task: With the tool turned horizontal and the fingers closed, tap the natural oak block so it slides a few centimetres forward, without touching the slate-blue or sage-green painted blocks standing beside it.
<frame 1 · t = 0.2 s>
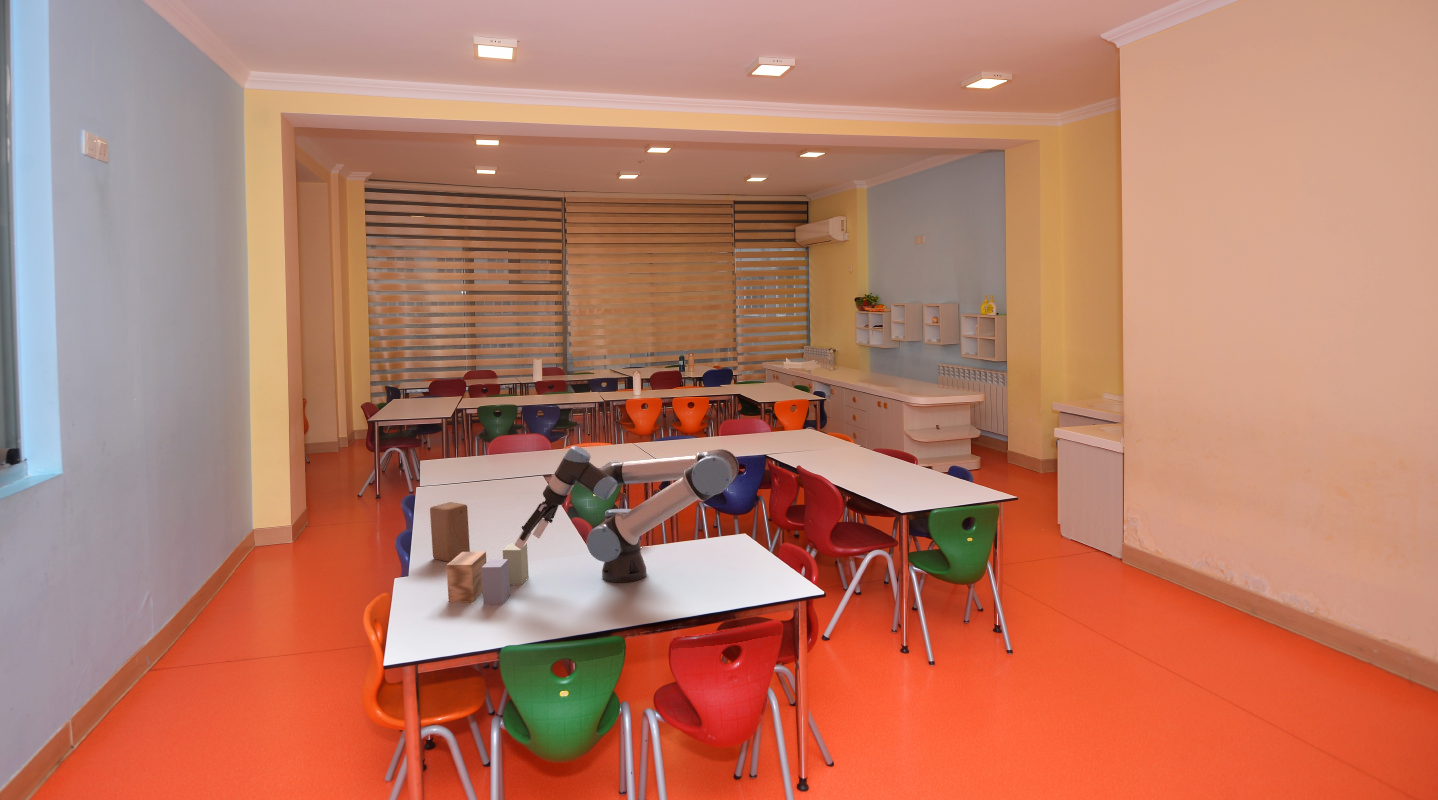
hand: (527, 541, 259), 15 cm above the table, tool tilted 35°, fingers open, 13 cm apart
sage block: (516, 581, 266), on the table
puzzle cube: (625, 543, 308), on the table
oak block: (468, 594, 254), on the table
wooden block: (451, 557, 295), on the table
slate-blue block: (497, 600, 248), on the table
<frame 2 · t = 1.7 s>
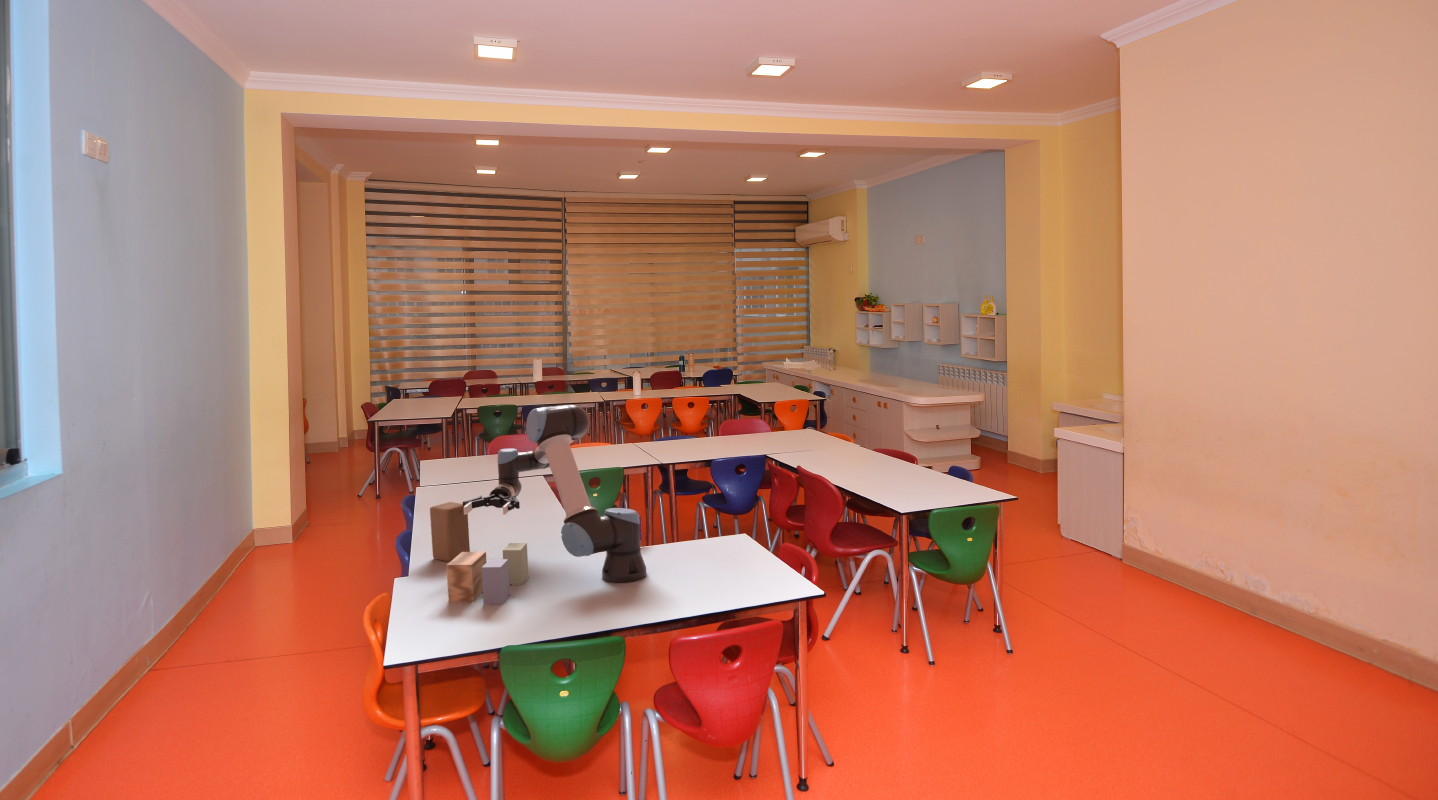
hand: (484, 510, 270), 23 cm above the table, tool horizontal, fingers open, 13 cm apart
nothing on the table moved.
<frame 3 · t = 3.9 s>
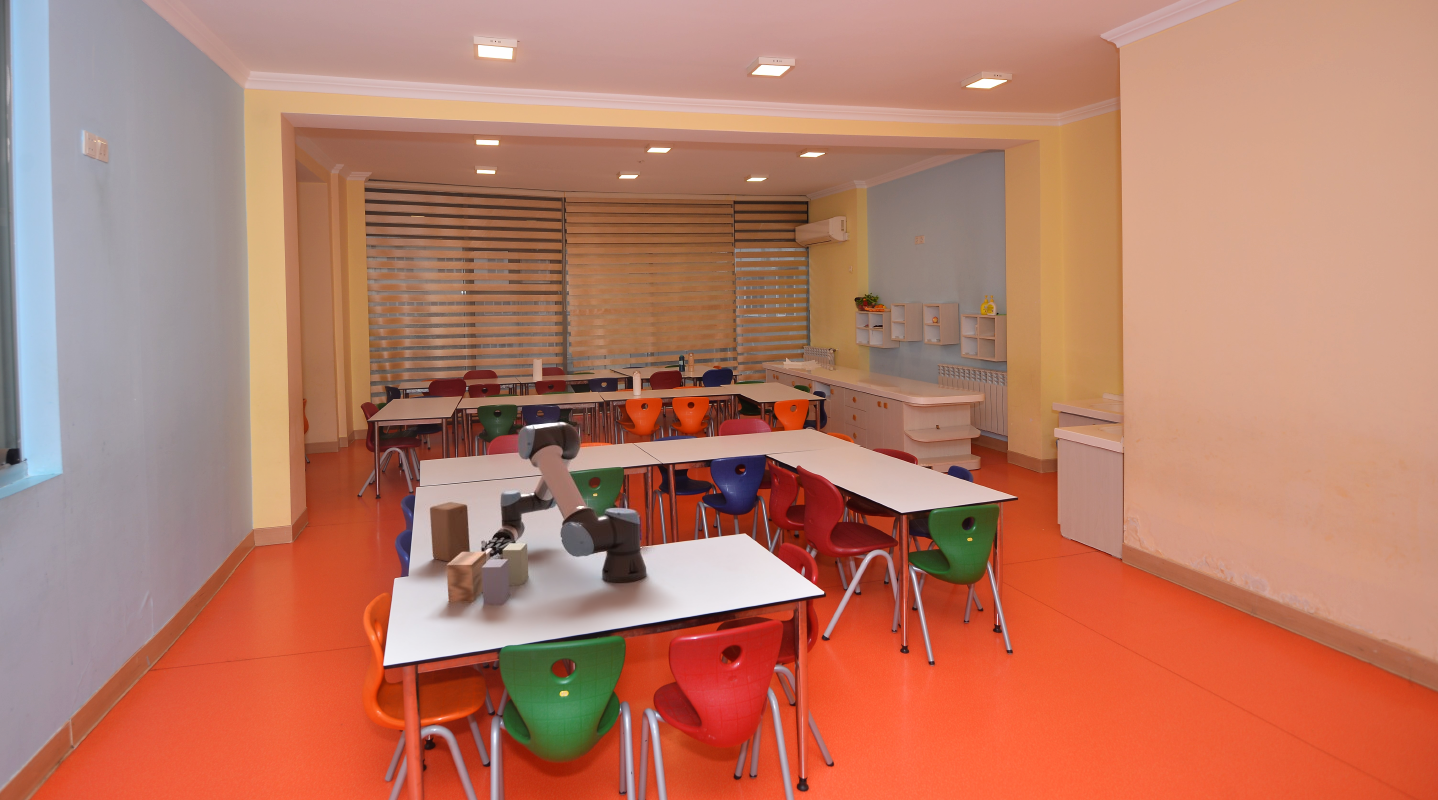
hand: (484, 557, 271), 7 cm above the table, tool horizontal, fingers closed
nothing on the table moved.
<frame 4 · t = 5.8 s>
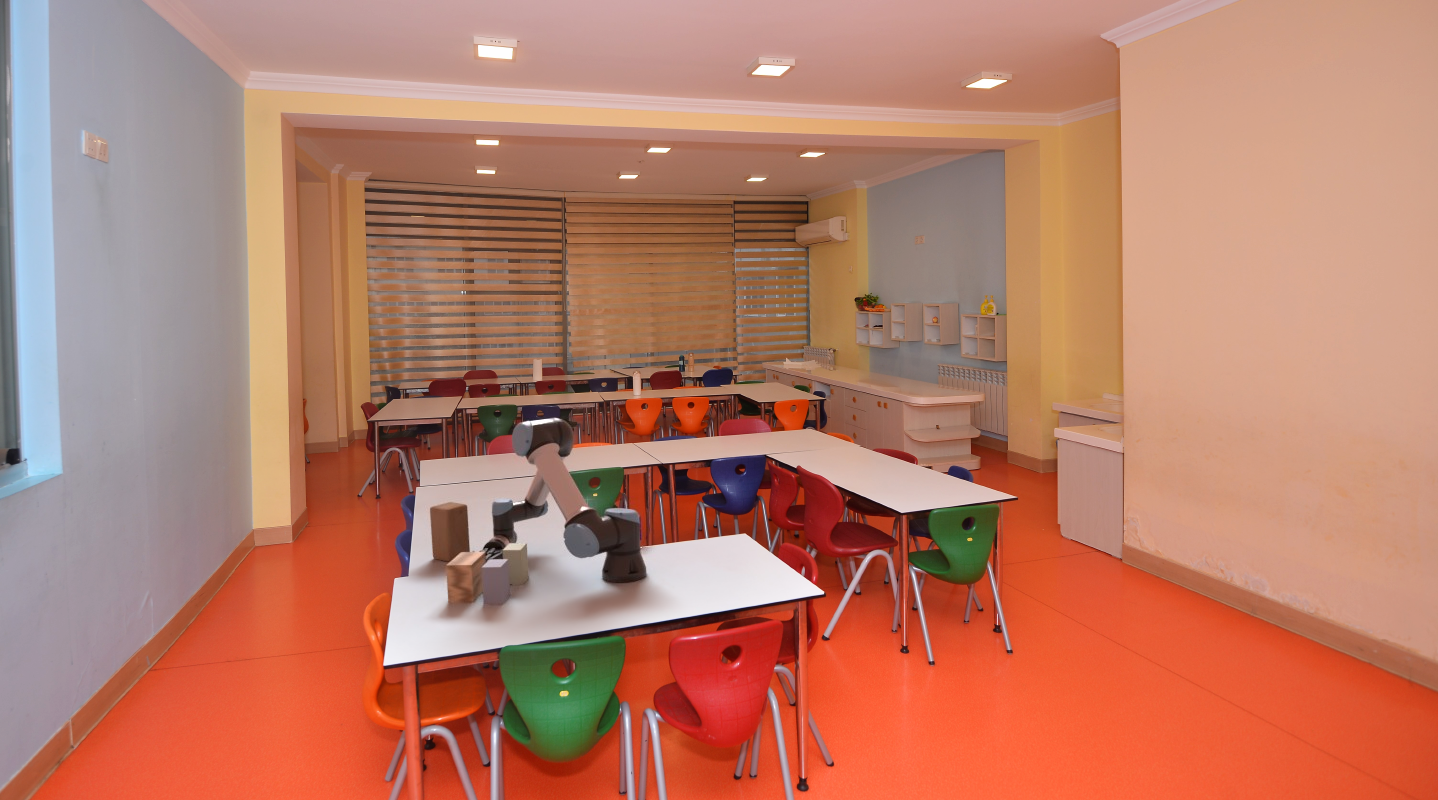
hand: (473, 569, 260), 6 cm above the table, tool horizontal, fingers closed
oak block: (468, 594, 254), on the table, touching gripper
everything else where it was.
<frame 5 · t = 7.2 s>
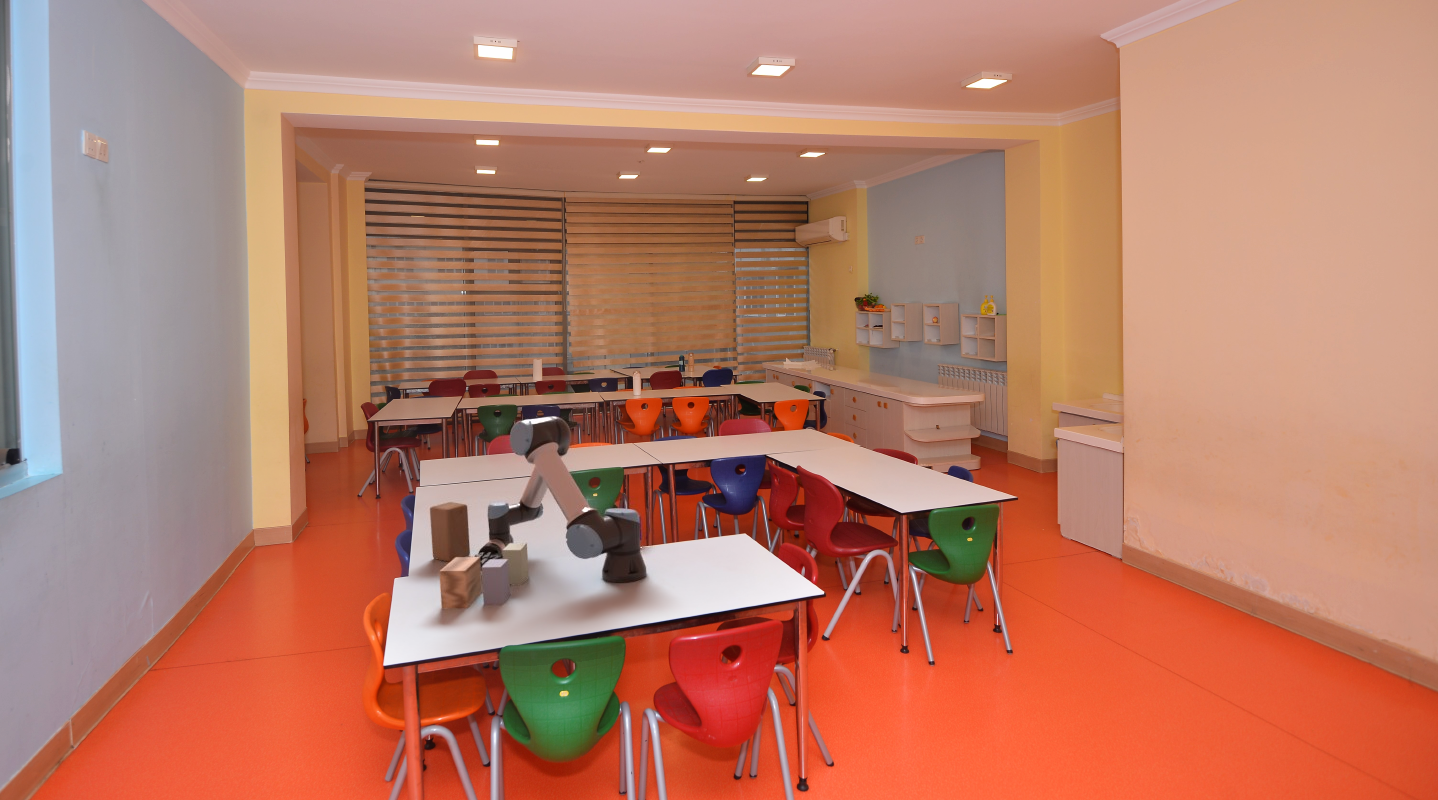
hand: (469, 574, 255), 6 cm above the table, tool horizontal, fingers closed
oak block: (462, 600, 248), on the table
everything else where it was.
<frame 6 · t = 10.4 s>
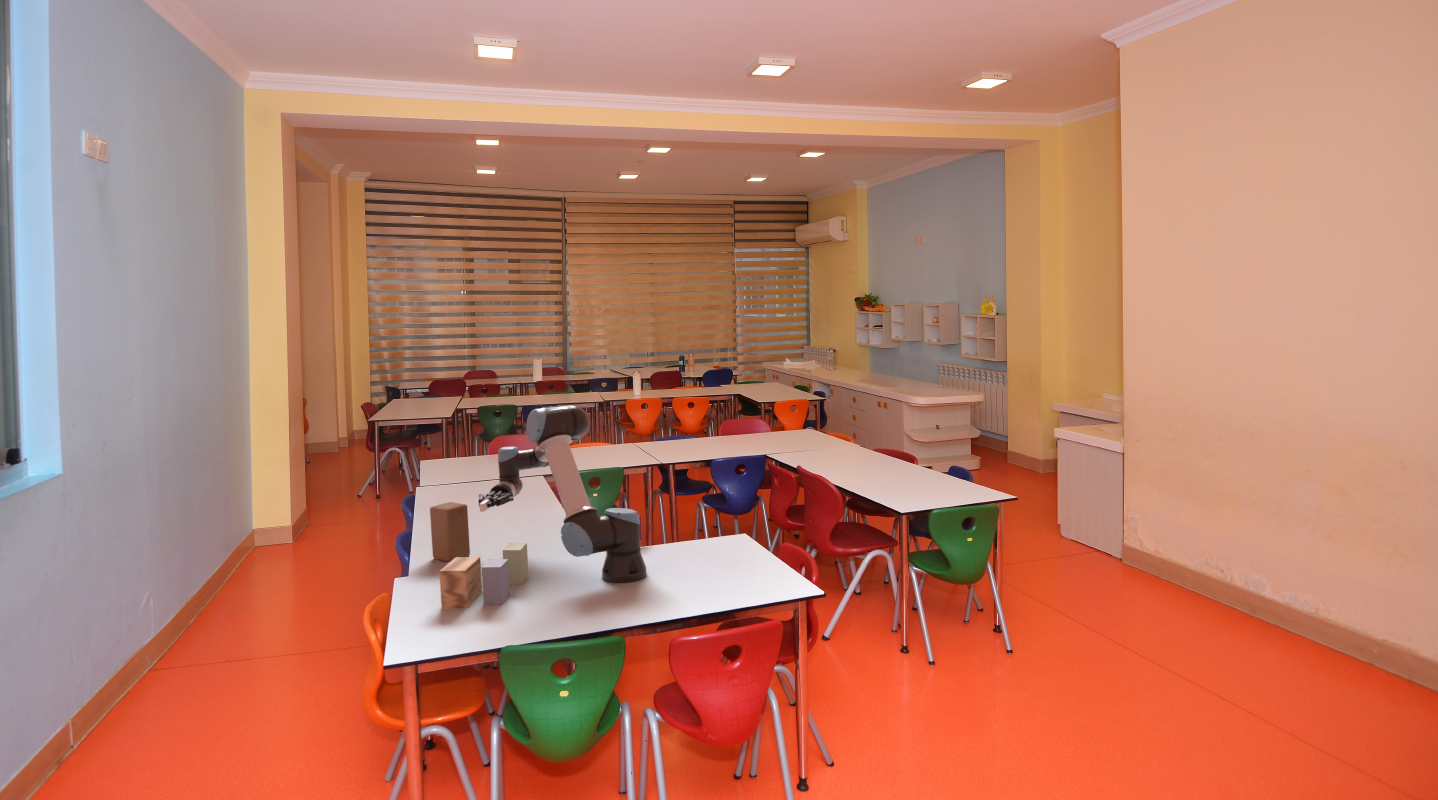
hand: (481, 507, 269), 24 cm above the table, tool horizontal, fingers closed
nothing on the table moved.
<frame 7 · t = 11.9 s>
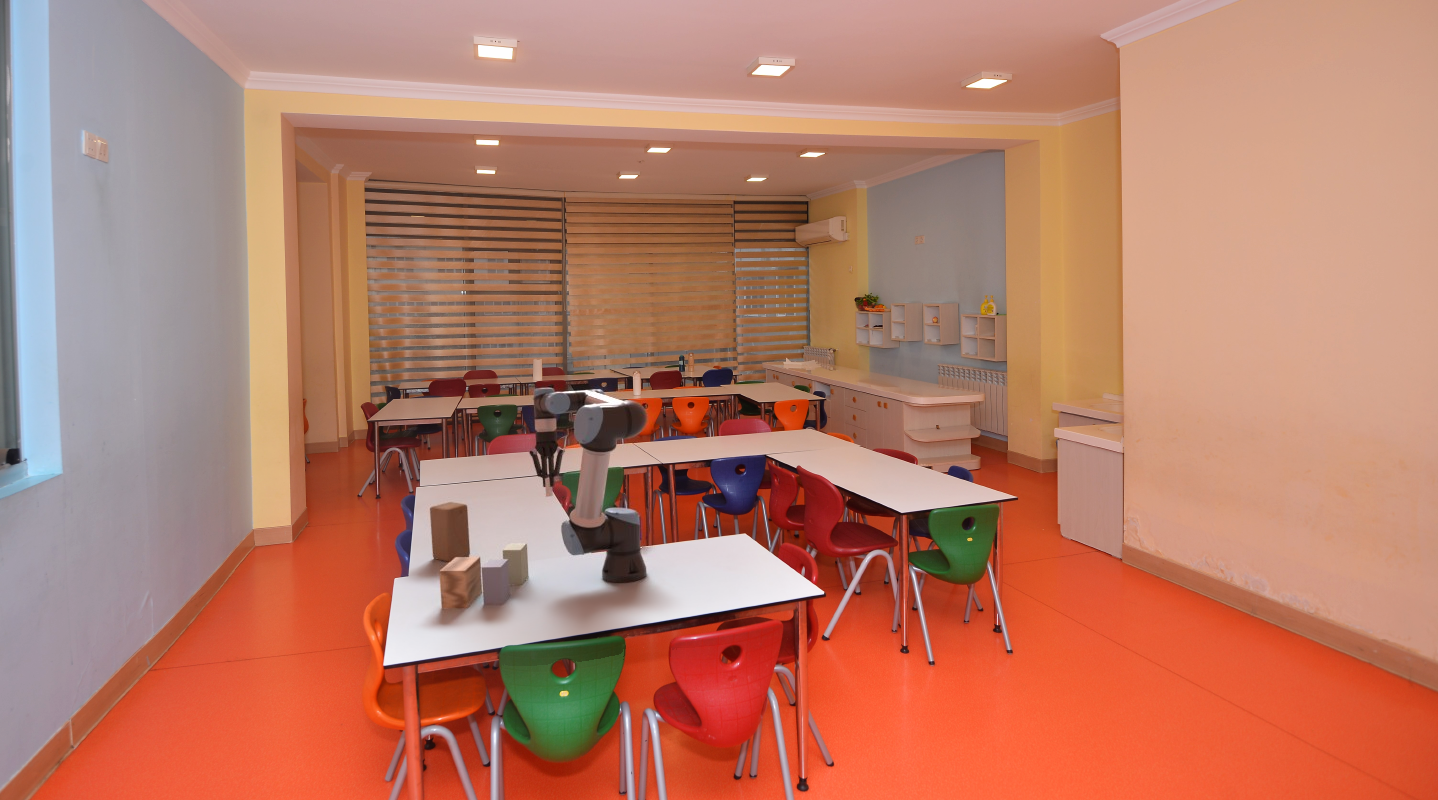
hand: (549, 496, 283), 25 cm above the table, tool pointing down, fingers closed
nothing on the table moved.
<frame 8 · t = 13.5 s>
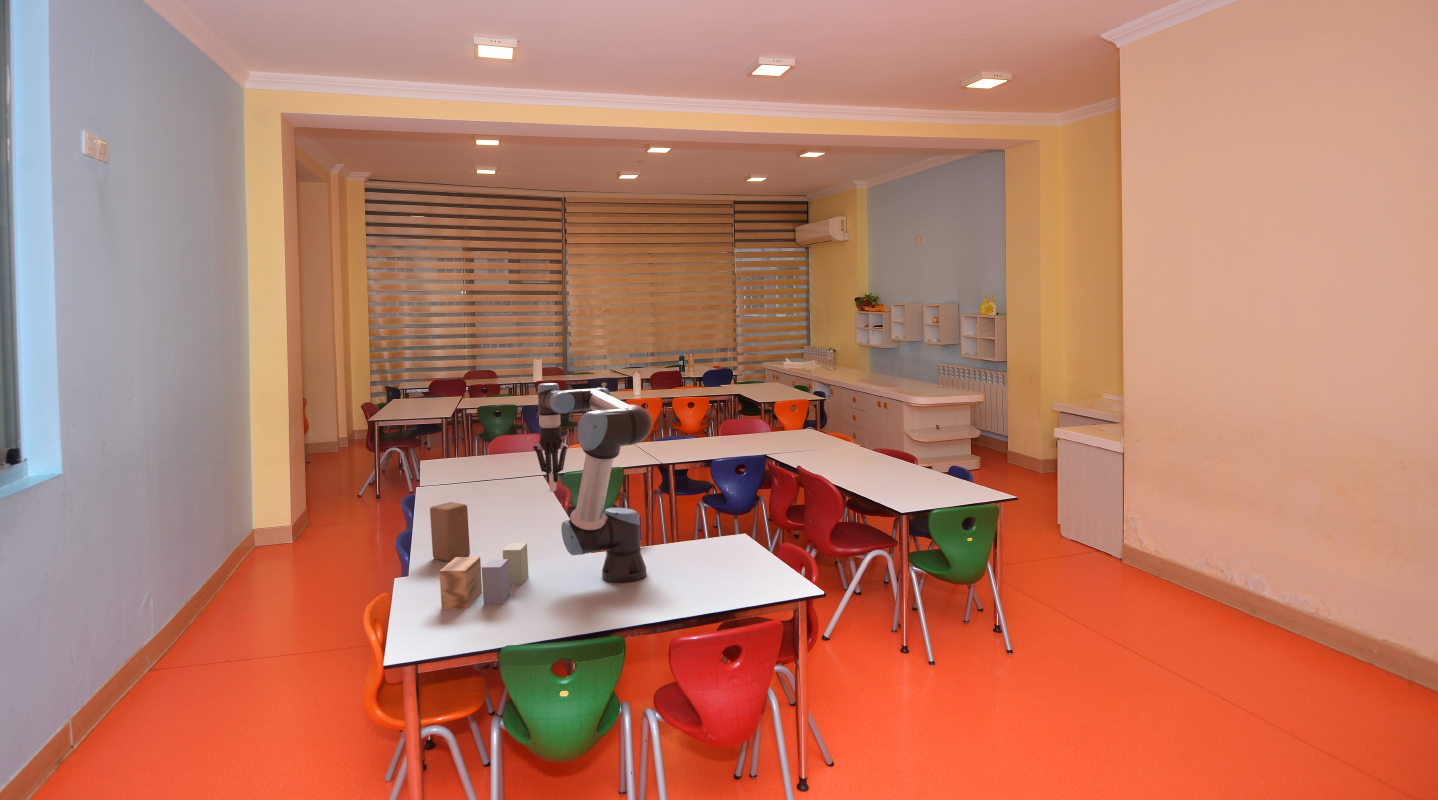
hand: (553, 490, 284), 26 cm above the table, tool pointing down, fingers closed
nothing on the table moved.
at the end: oak block inside the target area (0.5 cm from its centre), on the table; slate-blue block moved 0.1 cm from its start; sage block moved 0.1 cm from its start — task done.
